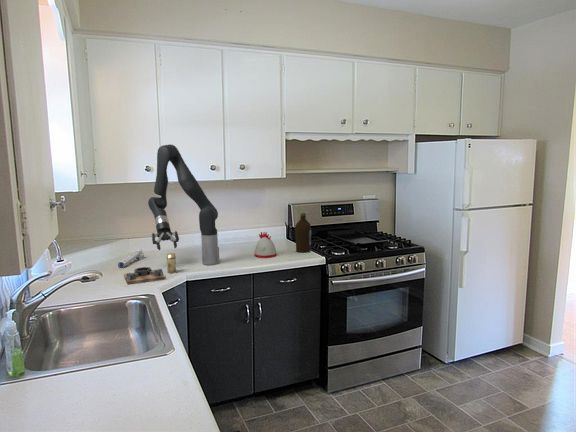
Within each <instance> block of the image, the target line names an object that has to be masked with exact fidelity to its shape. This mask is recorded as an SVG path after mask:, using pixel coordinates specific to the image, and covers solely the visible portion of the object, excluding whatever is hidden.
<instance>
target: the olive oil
mask: <svg viewBox="0 0 576 432" xmlns="http://www.w3.org/2000/svg"><path fill="white" fill-rule="evenodd" d="M294 232H295V234H294V235H295V252H297V253H300V254H301V253H302V254H305V253H310V252H311V249H312V248H311V247H312V245H311V244H312V225H311V223H310V222H309V221H308V220H307V219H306V213H305V212H301V213H300V219H299V221H297V223H295V226H294Z"/></svg>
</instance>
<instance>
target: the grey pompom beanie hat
mask: <svg viewBox="0 0 576 432" xmlns="http://www.w3.org/2000/svg"><path fill="white" fill-rule="evenodd" d="M258 236H259V238H260V239H259V240H258V241H257V243H256V245H255V248H254V251H253V252H254V257H255V258H258V259H271V258H275V257H277V249H276V246H275V244H274V241H272V239H271V237H272V236H271V235H270V234H269V233H268V232H267V231H266V232H265V231H263V232H262V231H261V232H260V233H259V234H258Z"/></svg>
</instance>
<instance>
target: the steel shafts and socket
mask: <svg viewBox="0 0 576 432" xmlns="http://www.w3.org/2000/svg"><path fill="white" fill-rule="evenodd" d="M151 270H152V268H151V267H149V266H142V267H138V268H134V270H133V271H134V272H128V273H126V274H127V280H134V279H136V277H139V276H146V275H155V276H162V275H164V271H163V269H162V268H158V269H157V268H156V269H154V270H155V271H151Z"/></svg>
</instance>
